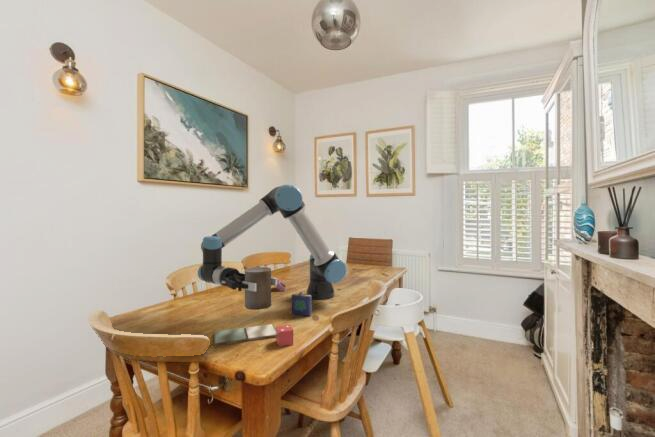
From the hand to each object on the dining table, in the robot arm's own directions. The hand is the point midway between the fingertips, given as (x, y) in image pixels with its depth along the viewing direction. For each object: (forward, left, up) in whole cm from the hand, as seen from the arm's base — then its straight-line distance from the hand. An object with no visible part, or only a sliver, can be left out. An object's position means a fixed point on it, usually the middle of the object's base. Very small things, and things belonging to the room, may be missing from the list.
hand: (266, 284), depth 110 cm
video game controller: (-18, -63, -19) cm, 69 cm away
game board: (+7, -4, -19) cm, 21 cm away
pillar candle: (+3, -4, -9) cm, 10 cm away
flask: (-18, -18, -19) cm, 32 cm away
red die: (-5, +7, -19) cm, 21 cm away
